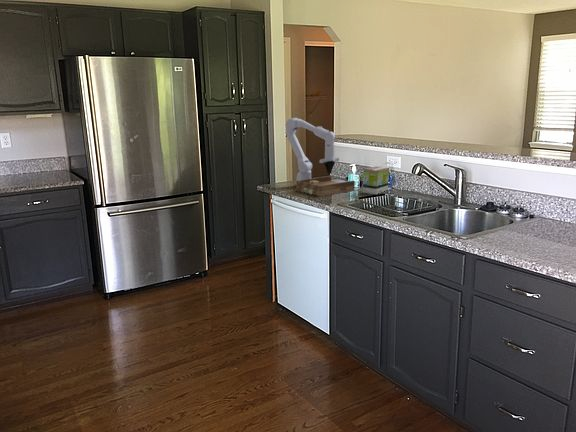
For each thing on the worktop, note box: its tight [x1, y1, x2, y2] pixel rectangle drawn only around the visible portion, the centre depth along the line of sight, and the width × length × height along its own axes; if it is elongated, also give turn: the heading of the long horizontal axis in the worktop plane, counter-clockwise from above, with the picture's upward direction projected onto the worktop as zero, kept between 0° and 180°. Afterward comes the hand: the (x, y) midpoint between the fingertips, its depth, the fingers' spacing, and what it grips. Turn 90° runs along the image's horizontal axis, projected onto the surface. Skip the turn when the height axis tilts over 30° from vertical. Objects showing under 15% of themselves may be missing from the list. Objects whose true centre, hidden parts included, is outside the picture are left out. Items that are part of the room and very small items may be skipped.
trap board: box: [296, 175, 356, 197], centre depth 315 cm, size 22×28×6 cm
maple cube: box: [310, 180, 319, 185], centre depth 309 cm, size 4×4×4 cm
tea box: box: [362, 165, 390, 195], centre depth 309 cm, size 15×10×15 cm, turn 143°
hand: (329, 173), depth 320 cm, fingers closed
